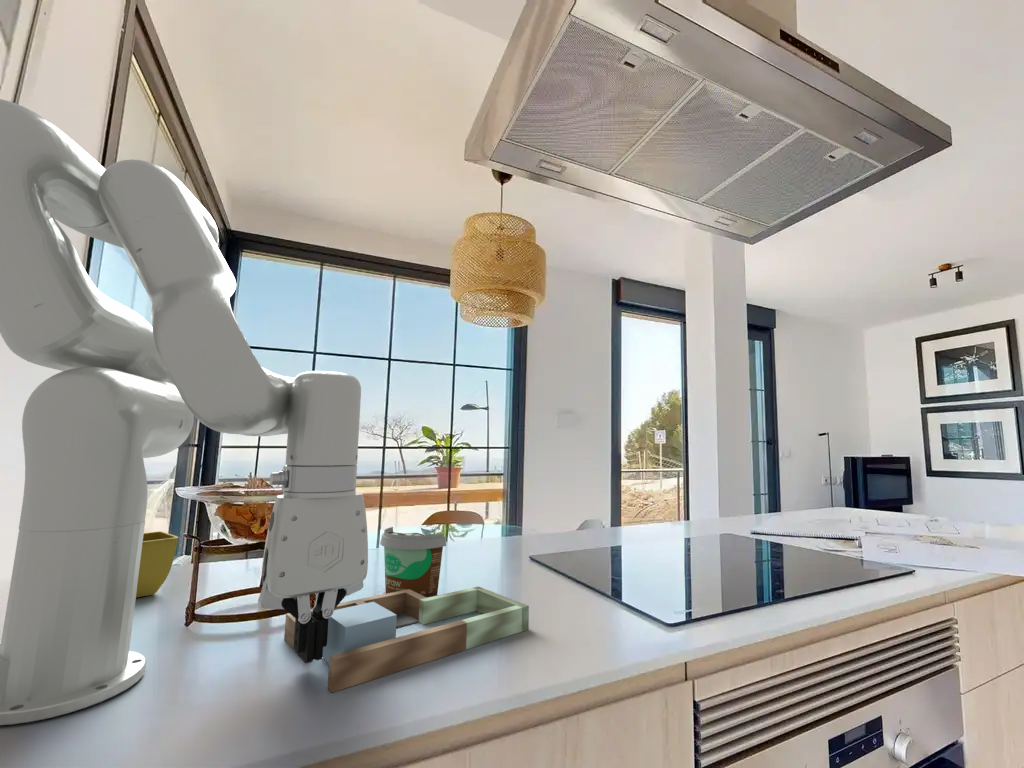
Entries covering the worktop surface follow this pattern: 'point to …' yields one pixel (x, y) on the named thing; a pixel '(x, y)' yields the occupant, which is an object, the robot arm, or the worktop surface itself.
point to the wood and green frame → (423, 632)
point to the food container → (412, 561)
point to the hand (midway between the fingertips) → (309, 656)
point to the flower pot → (155, 561)
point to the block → (358, 628)
